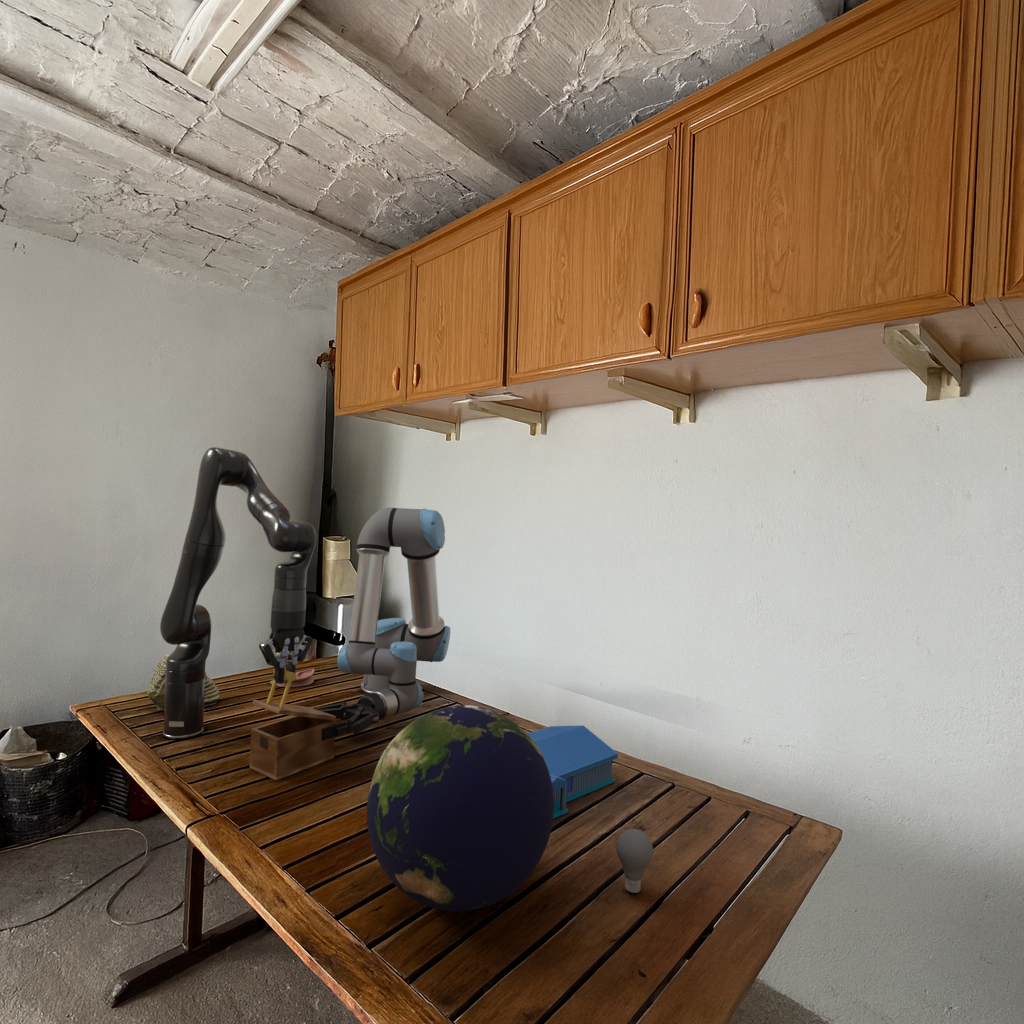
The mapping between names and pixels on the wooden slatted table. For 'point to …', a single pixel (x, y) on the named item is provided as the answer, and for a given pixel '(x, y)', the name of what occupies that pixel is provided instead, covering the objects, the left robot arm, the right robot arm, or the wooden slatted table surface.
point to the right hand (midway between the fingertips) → (308, 729)
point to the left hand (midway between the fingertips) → (284, 681)
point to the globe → (460, 808)
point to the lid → (290, 709)
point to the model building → (574, 762)
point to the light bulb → (634, 857)
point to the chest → (290, 746)
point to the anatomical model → (299, 679)
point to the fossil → (158, 687)
